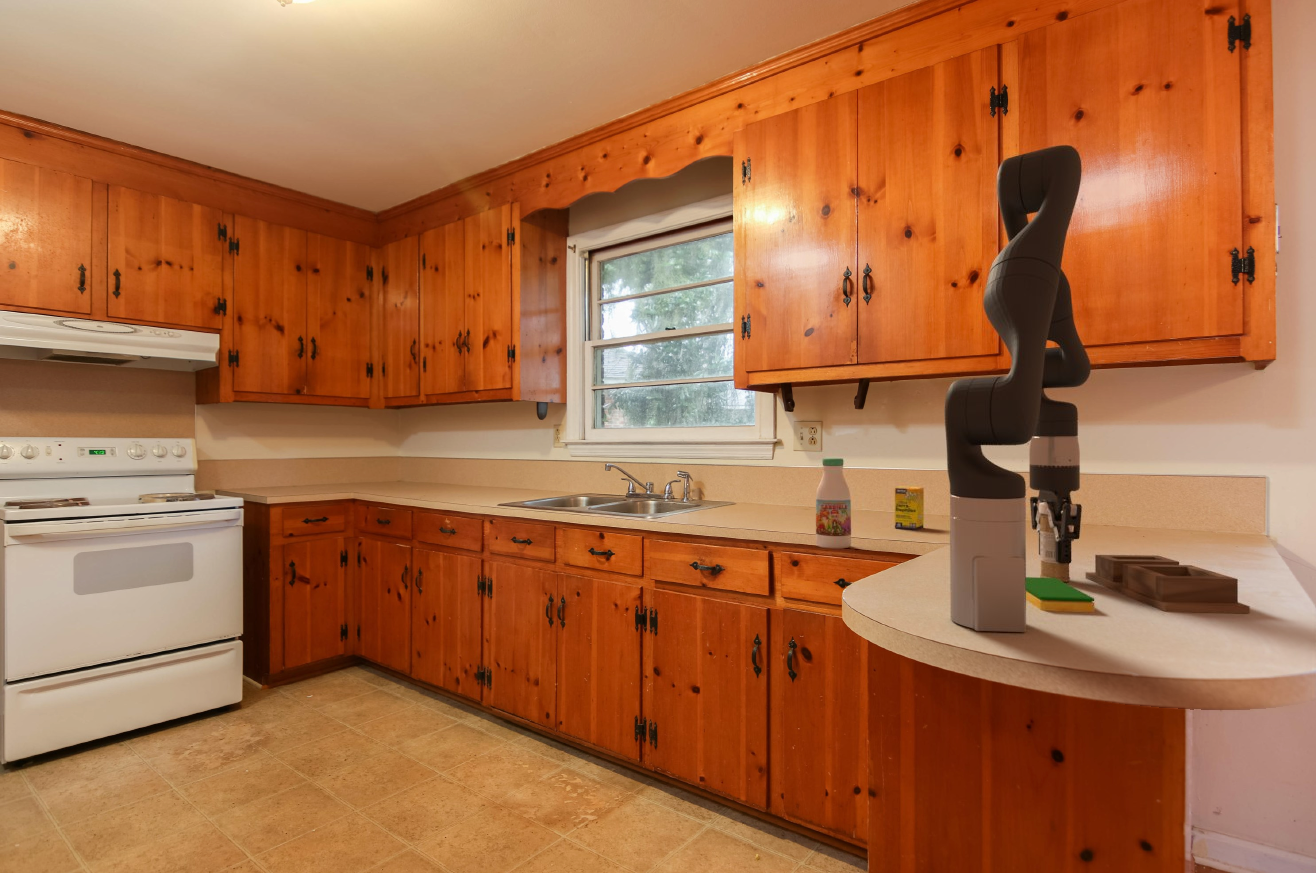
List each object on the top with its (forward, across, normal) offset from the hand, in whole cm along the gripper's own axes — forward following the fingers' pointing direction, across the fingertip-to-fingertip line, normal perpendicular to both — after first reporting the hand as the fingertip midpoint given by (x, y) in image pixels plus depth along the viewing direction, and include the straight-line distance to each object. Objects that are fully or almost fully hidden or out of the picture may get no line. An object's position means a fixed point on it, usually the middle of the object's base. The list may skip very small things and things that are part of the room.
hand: (1054, 559), depth 116 cm
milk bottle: (+4, +32, +33) cm, 46 cm away
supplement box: (+4, +62, +9) cm, 63 cm away
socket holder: (+4, -9, -12) cm, 15 cm away
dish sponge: (+4, -14, +7) cm, 16 cm away
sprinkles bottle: (+4, 0, 0) cm, 4 cm away
